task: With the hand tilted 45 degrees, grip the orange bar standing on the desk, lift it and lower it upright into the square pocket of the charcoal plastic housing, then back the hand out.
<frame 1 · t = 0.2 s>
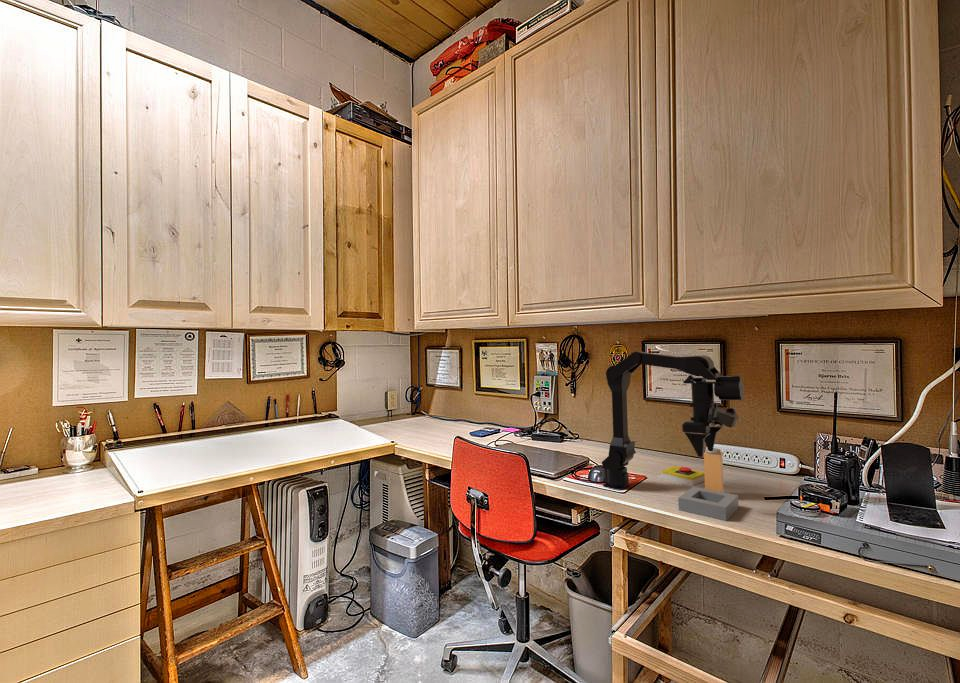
hand: (705, 453, 129), 15 cm above the table, tool pointing down, fingers open, 9 cm apart
emergency button: (682, 481, 153), on the table
housing: (708, 508, 126), on the table
orange bar: (714, 495, 136), on the table
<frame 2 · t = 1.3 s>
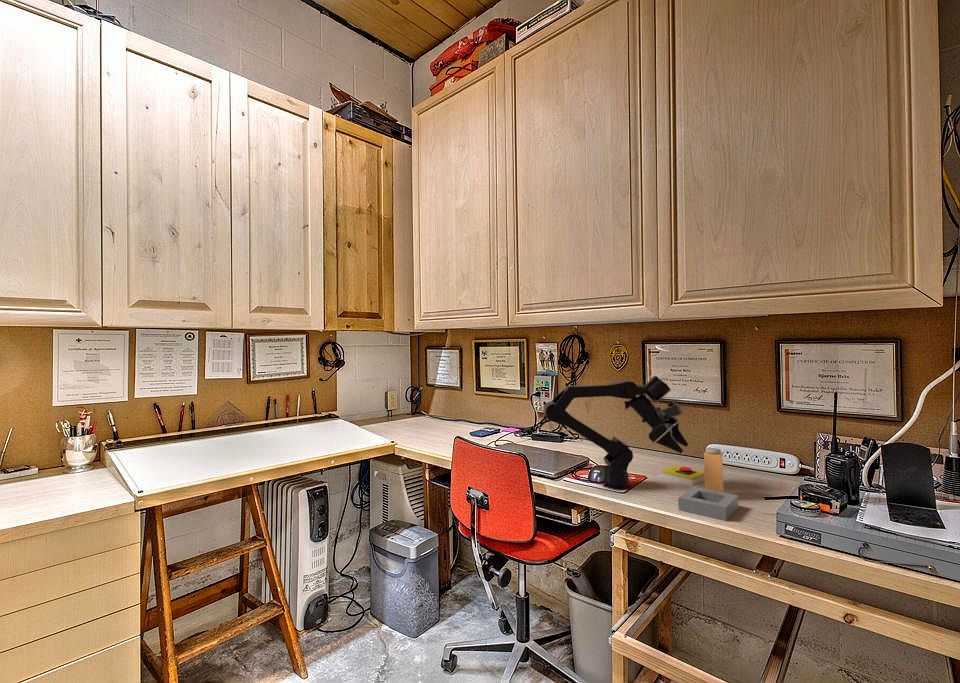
hand: (684, 448, 140), 13 cm above the table, tool tilted 45°, fingers open, 9 cm apart
nothing on the table moved.
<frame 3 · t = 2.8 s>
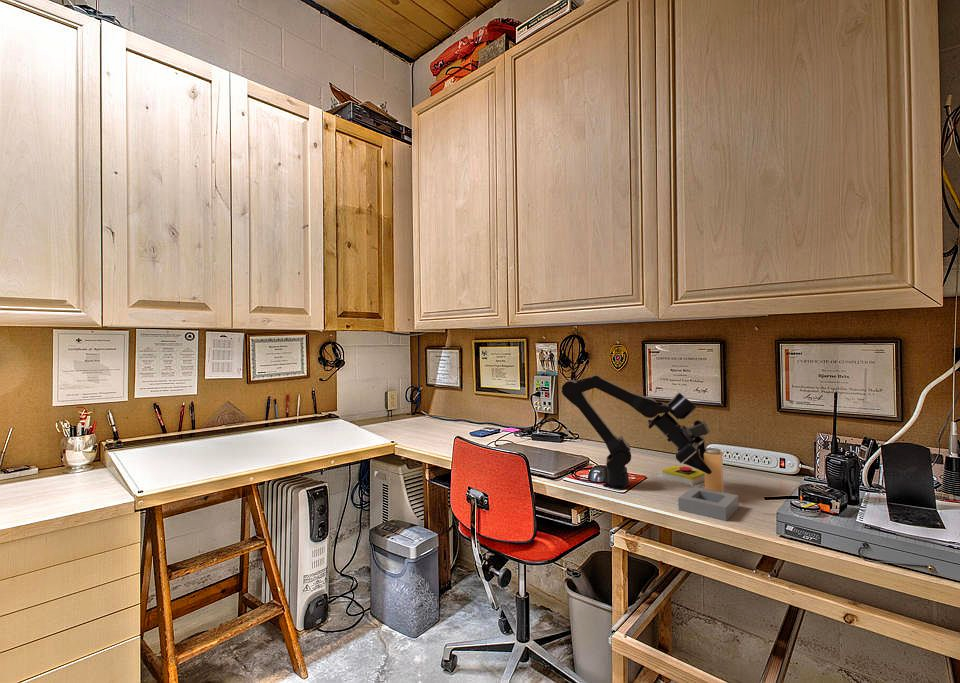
hand: (712, 469, 136), 8 cm above the table, tool tilted 45°, fingers open, 9 cm apart
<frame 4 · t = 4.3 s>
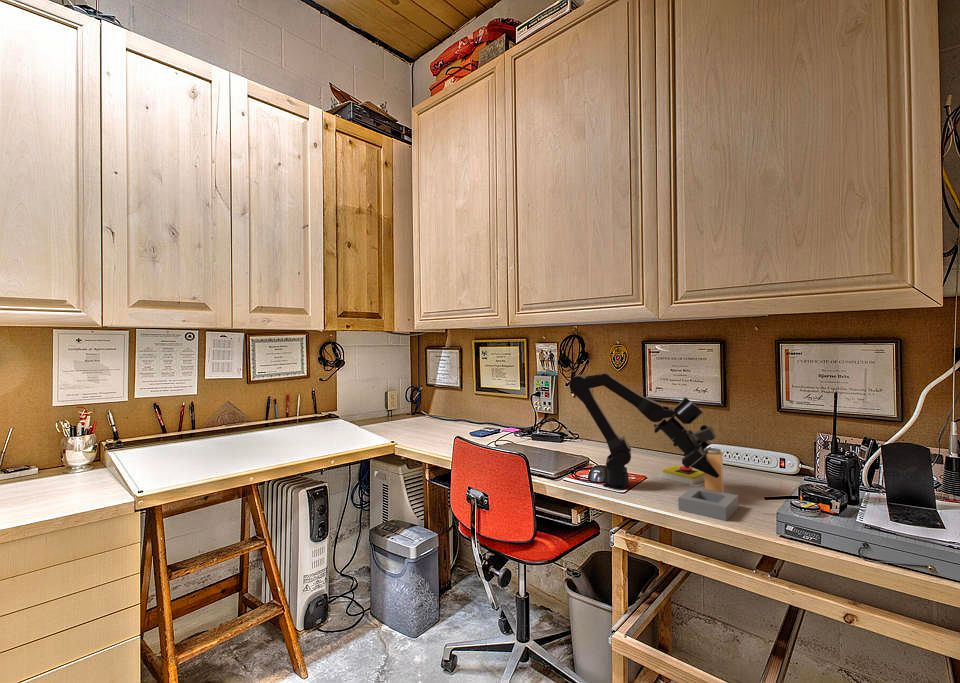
hand: (719, 474, 135), 7 cm above the table, tool tilted 45°, fingers closed on orange bar, 4 cm apart
orange bar: (714, 495, 136), on the table, touching gripper
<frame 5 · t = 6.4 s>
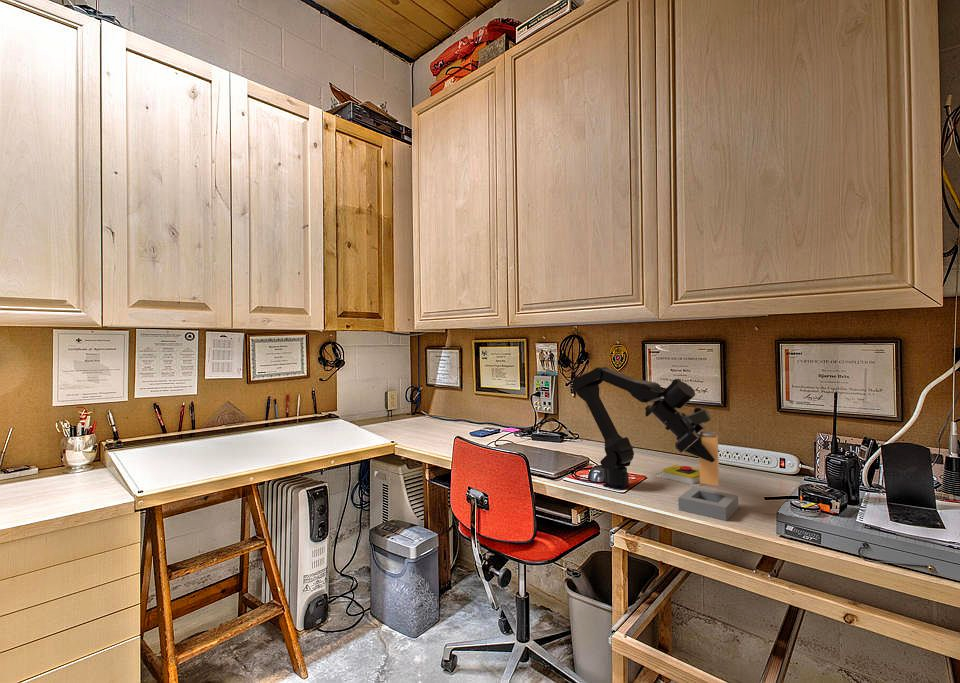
hand: (714, 459, 127), 14 cm above the table, tool tilted 45°, fingers closed on orange bar, 4 cm apart
orange bar: (709, 482, 127), point 7 cm above the table, touching gripper
when the fingers open (9 cm above the table, at t = 8.3 s): orange bar drops 1 cm, resting on housing.
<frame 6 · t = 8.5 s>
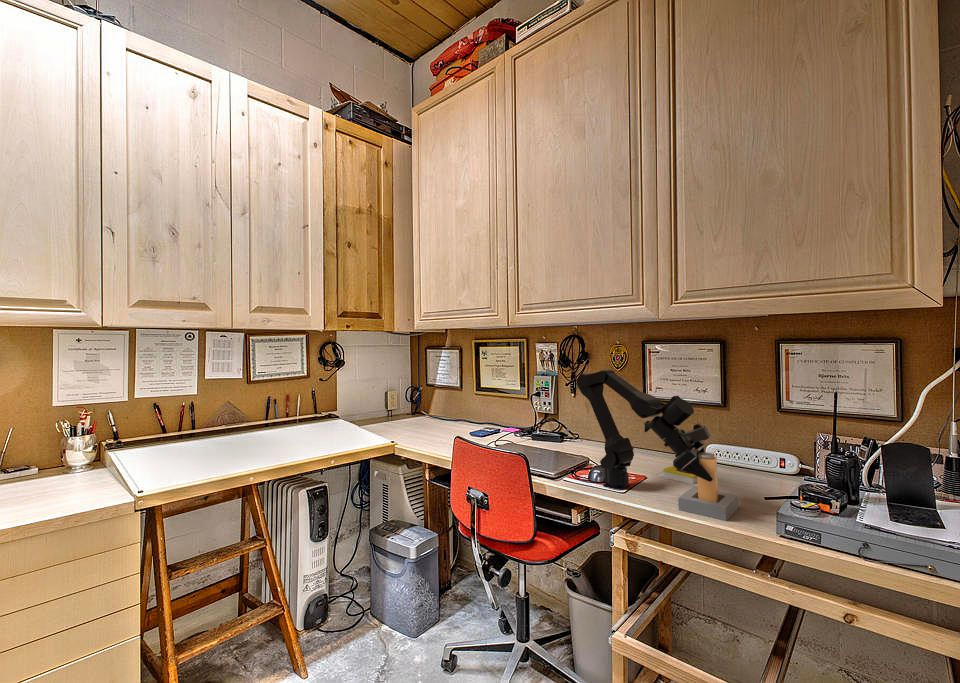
hand: (713, 477, 125), 9 cm above the table, tool tilted 45°, fingers open, 7 cm apart
orange bar: (708, 504, 126), point 1 cm above the table, touching housing
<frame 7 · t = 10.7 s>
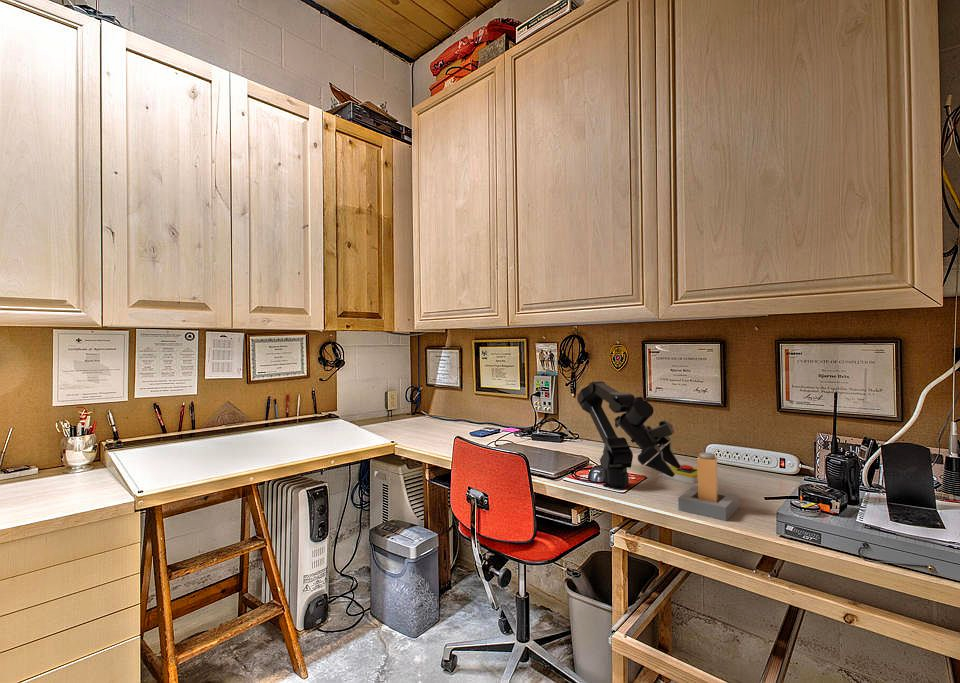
hand: (676, 471, 131), 9 cm above the table, tool tilted 45°, fingers open, 9 cm apart
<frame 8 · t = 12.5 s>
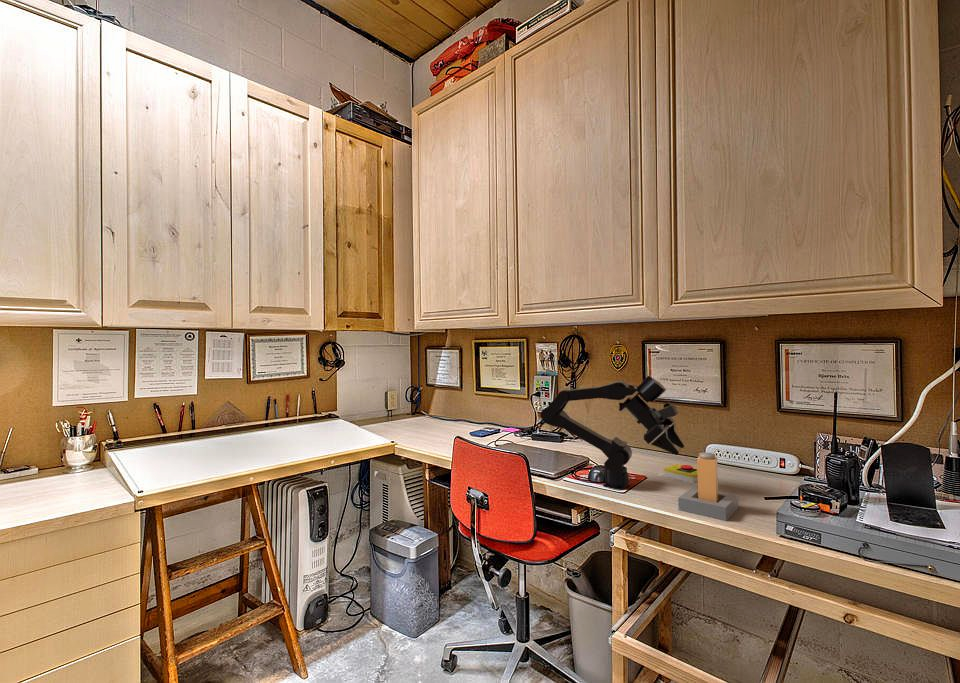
hand: (680, 450, 138), 14 cm above the table, tool tilted 45°, fingers open, 9 cm apart
at the end: orange bar 0.0 cm off-centre on the housing, point 1.3 cm above the housing's base; orange bar tilted 0°; the gripper is holding nothing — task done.
